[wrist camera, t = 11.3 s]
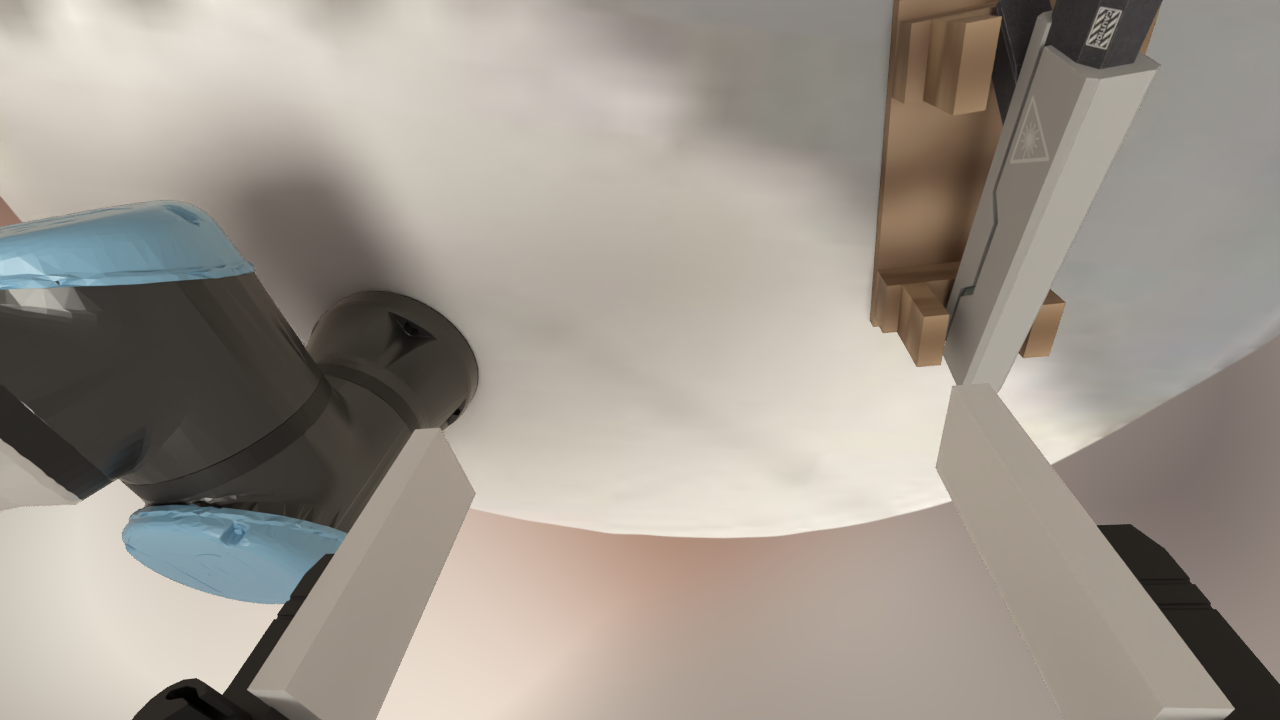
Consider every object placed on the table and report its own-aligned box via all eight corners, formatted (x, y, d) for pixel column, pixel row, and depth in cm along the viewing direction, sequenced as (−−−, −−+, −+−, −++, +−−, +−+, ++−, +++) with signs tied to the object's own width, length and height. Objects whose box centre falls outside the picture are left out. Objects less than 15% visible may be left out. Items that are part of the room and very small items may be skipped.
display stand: (1004, 306, 40) (1062, 366, 34) (870, 320, 42) (899, 379, 36) (1089, -41, 28) (1204, -52, 22) (894, 0, 30) (946, 2, 23)
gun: (1077, -109, 23) (1234, -65, 17) (949, 301, 41) (999, 399, 35) (1015, -94, 24) (1143, -46, 17) (915, 304, 42) (958, 402, 35)
